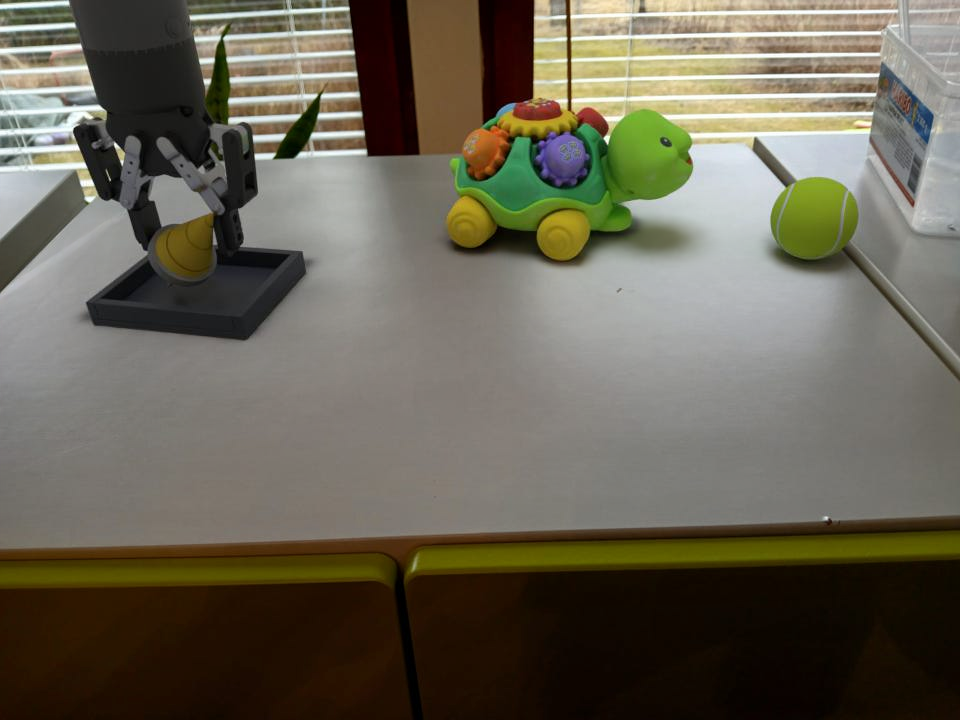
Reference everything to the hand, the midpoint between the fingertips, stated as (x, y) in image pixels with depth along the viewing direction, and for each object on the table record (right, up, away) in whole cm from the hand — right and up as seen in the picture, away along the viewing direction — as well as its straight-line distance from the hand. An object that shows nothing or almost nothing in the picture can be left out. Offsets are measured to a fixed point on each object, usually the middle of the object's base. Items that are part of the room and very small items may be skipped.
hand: (192, 249), depth 65 cm
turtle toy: (+32, +4, +12) cm, 34 cm away
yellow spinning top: (0, -2, +2) cm, 3 cm away
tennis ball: (+53, 0, +5) cm, 53 cm away
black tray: (0, -4, +2) cm, 4 cm away
